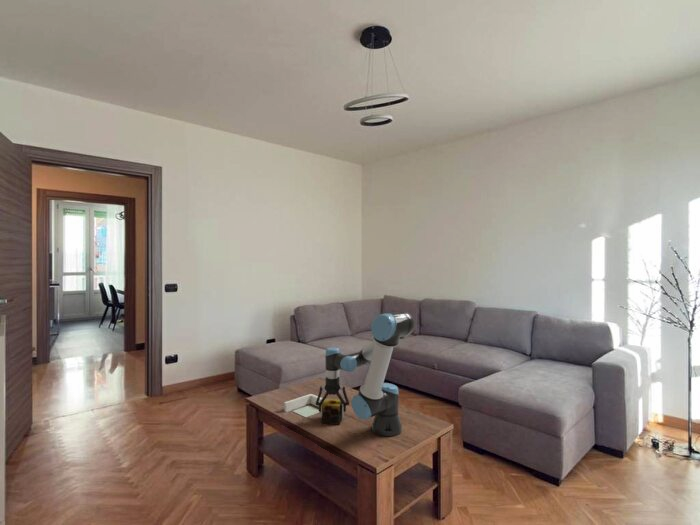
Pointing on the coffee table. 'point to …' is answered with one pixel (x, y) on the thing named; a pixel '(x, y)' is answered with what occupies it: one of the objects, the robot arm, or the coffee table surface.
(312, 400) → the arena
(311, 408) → the pad
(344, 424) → the coffee table surface
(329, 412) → the candle
